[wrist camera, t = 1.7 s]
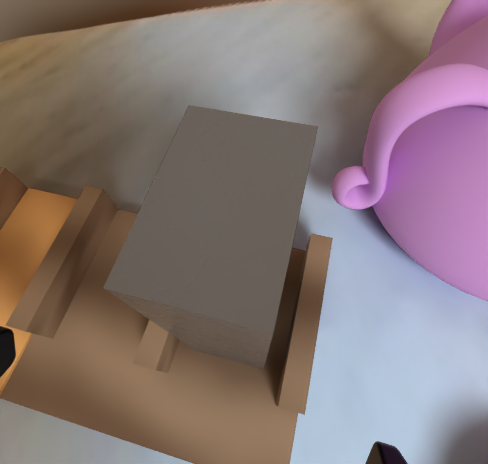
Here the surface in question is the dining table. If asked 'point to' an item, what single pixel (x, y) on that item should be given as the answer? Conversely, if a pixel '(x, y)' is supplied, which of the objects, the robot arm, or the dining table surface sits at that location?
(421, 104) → the teapot
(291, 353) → the rail rack
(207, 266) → the tall grey box
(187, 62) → the dining table surface
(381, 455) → the robot arm
